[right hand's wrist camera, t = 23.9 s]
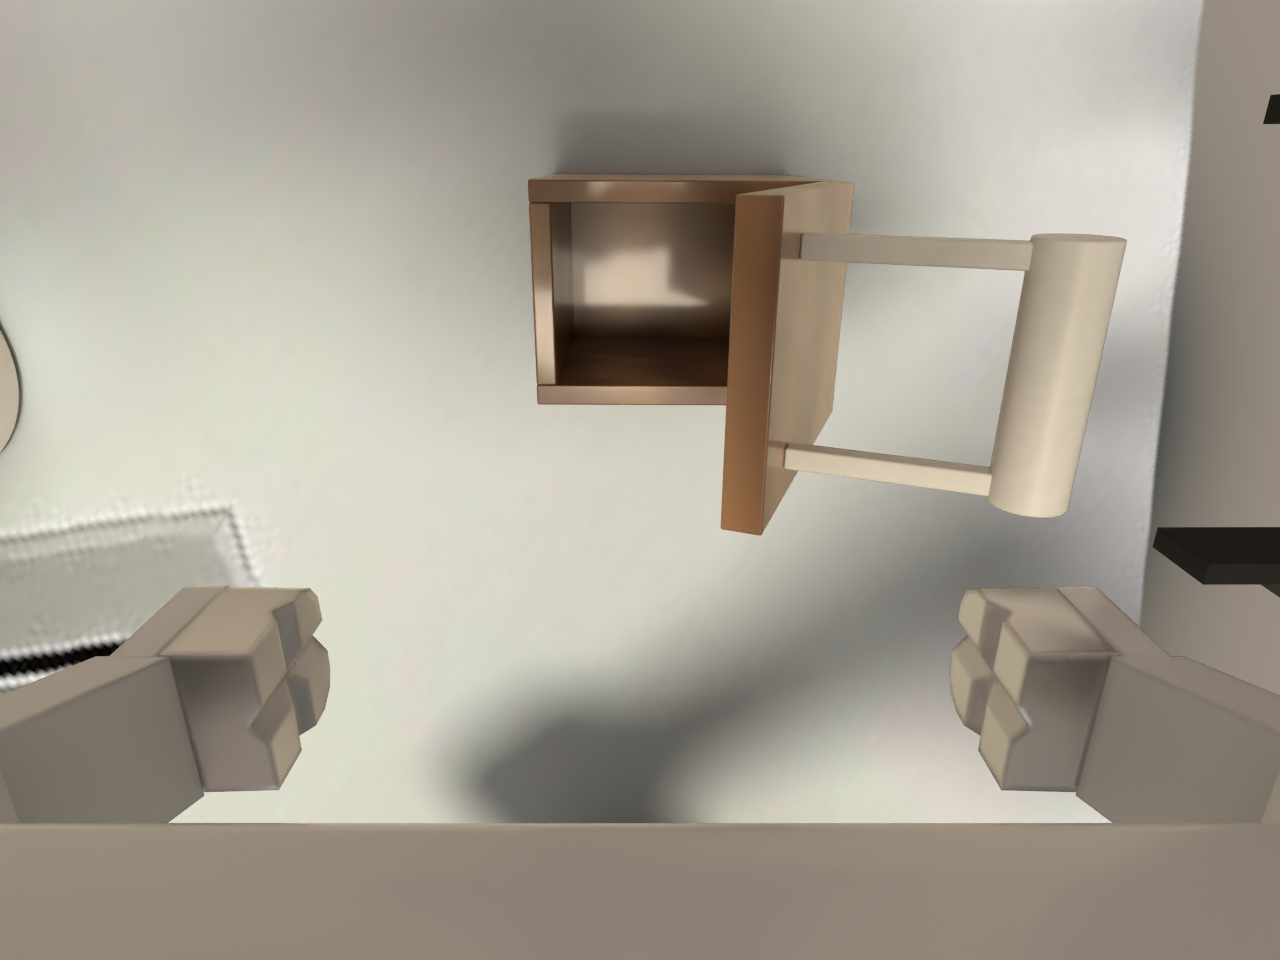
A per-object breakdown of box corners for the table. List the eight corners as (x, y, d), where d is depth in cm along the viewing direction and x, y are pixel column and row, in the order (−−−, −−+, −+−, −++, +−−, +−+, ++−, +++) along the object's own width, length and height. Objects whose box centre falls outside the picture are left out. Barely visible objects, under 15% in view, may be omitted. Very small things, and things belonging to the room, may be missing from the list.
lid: (720, 529, 24) (1071, 587, 21) (735, 194, 20) (1160, 203, 17) (803, 408, 35) (1037, 434, 32) (822, 181, 32) (1086, 185, 28)
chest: (560, 348, 46) (537, 404, 35) (554, 173, 42) (527, 179, 32) (775, 349, 46) (815, 406, 35) (786, 174, 42) (835, 180, 32)
